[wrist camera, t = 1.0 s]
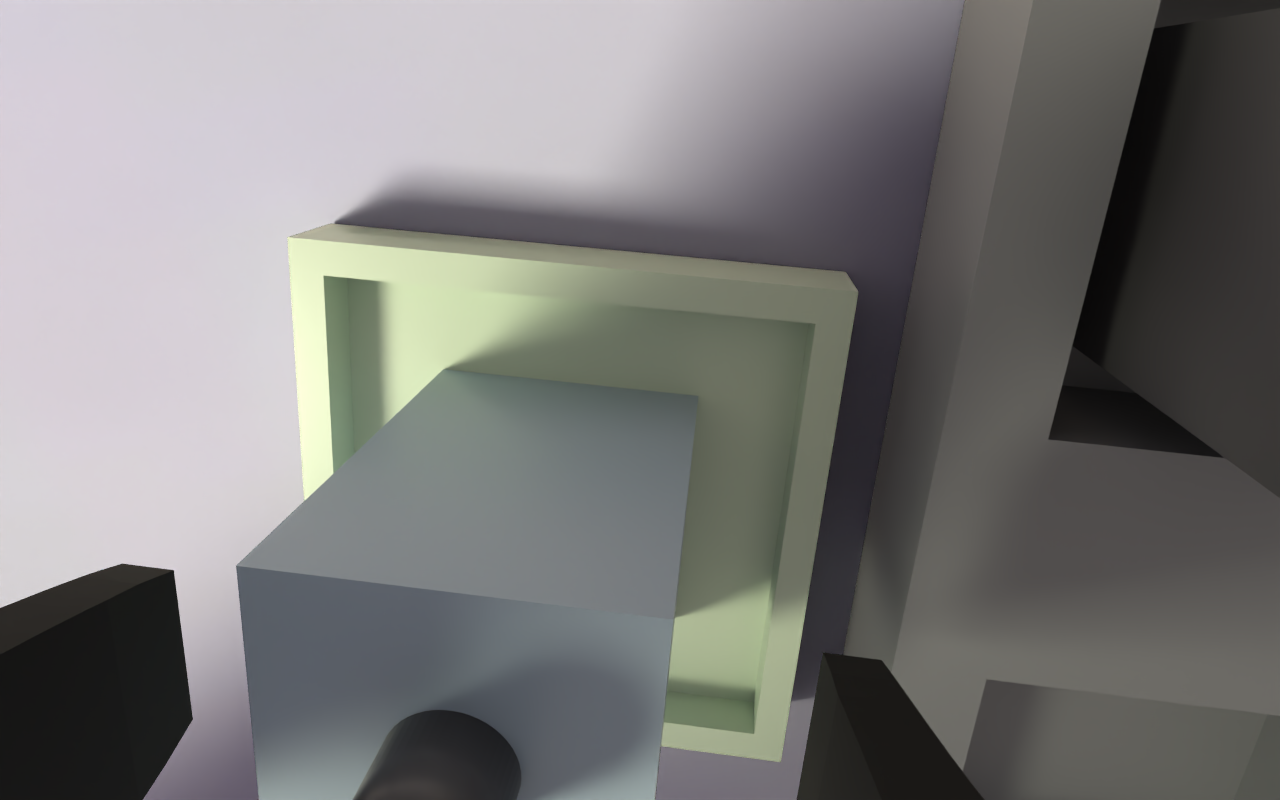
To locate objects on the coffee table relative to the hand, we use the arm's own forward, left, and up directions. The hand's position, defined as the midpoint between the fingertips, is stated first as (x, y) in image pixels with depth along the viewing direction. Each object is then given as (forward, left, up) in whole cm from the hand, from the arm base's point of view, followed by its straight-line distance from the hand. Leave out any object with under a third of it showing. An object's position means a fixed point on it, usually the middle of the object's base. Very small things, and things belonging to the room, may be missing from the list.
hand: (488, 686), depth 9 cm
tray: (0, 0, -5) cm, 5 cm away
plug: (0, 0, -5) cm, 5 cm away
